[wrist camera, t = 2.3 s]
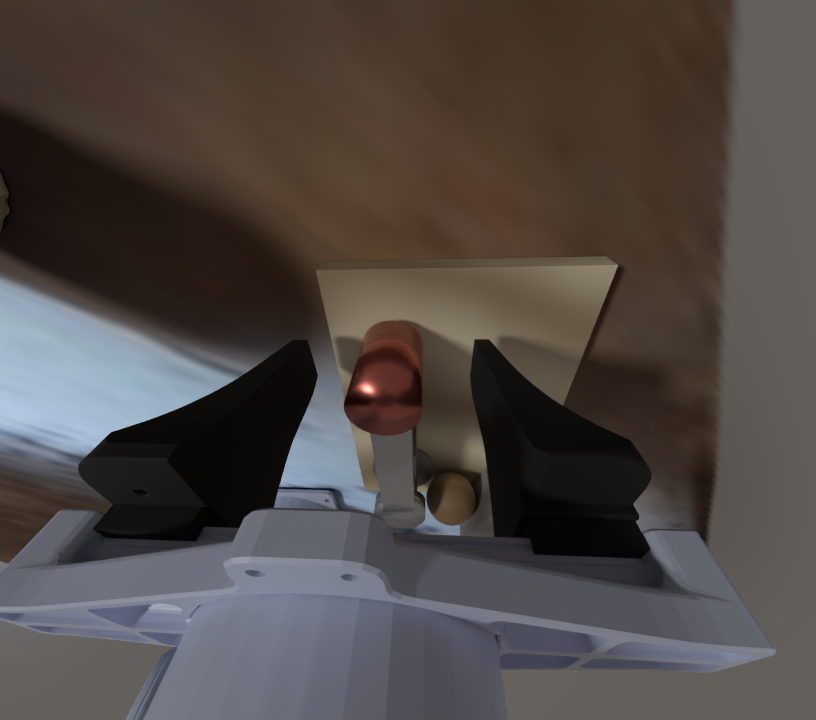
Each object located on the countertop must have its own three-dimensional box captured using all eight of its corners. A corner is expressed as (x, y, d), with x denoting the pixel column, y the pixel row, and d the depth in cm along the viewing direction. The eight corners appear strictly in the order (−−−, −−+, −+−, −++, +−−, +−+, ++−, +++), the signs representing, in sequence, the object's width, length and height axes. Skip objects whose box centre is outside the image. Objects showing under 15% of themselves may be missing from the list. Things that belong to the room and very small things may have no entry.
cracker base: (520, 491, 24) (536, 549, 20) (369, 487, 24) (360, 543, 21) (605, 256, 12) (669, 300, 9) (322, 261, 13) (288, 304, 10)
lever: (425, 480, 21) (425, 547, 18) (382, 479, 21) (374, 545, 18) (425, 317, 13) (425, 381, 10) (357, 318, 13) (334, 381, 10)
